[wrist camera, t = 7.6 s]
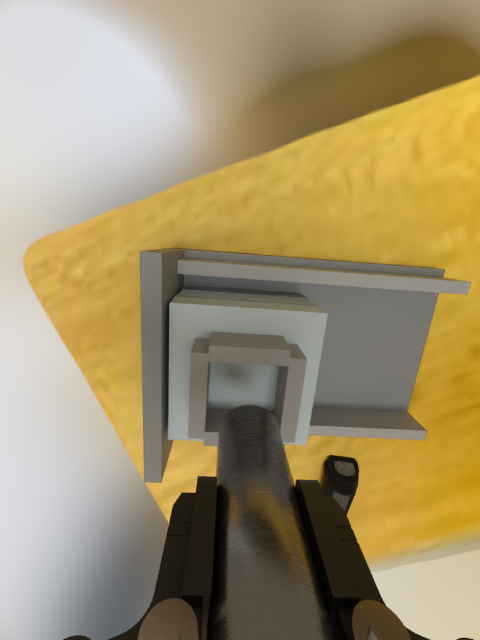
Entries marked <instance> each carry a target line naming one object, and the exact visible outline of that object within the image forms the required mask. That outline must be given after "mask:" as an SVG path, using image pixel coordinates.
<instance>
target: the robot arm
mask: <svg viewBox="0 0 480 640" xmlns="http://www.w3.org/2000/svg"><path fill="white" fill-rule="evenodd" d="M217 478H218V477H206V476H198V480H197V487H196V493H181V495H180V496H179V498H178V499H177V501H176V502H175V504H174V505H173V508H172V513H171V517H170V523H169V527H168V531H167V537H166V541H165V545H164V551H163V555H162V559H161V564H160V569H159V573H158V578H157V583H156V587H155V593H154V596H153V600H152V602H151V604H150V606H149V608H148V610H147V611H146V613H145V614H144V616H143V617H142V618H141V619H140V621H139V622H138V623H137V624H136V625H134V626H133V627H132V628H131V629H129V630H128V631H126V632H125V633H123V634H121V635H118V636H116V637H114V638H111V639H109V640H206V634H207V623H208V619H209V617H210V610H211V595H212V576H213V556H214V537H215V517H216V498H217ZM295 490H296V493H297V497H298V501H299V505H300V508H301V512H302V516H303V520H304V523H305V527H306V531H307V535H308V538H309V542H310V546H311V550H312V554H313V557H314V561H315V565H316V569H317V572H318V576H319V580H320V584H321V587H322V591H323V595H324V599H325V602H326V606H327V610H328V614H329V617H330V621H331V625H332V629H333V633H334V636H335V640H430V639H427V638H425V637H422V636H420V635H418V634H415V633H414V632H412V631H411V630H409V629H408V628H406V627H405V626H404V625H403V623H402V622H401V620H400V619H399V618H398V617H397V616H396V614H395V613H393V612H392V611H391V610H390V609H389V608H388V607H387V606H386V605H385V603H384V601H383V599H382V597H381V595H380V593H379V591H378V589H377V586H376V584H375V581H374V579H373V577H372V574H371V572H370V570H369V567H368V565H367V562H366V560H365V558H364V555H363V553H362V551H361V548H360V546H359V544H358V543H357V539H356V537H355V534H354V532H353V530H352V529H351V525H350V523H349V520H348V518H347V516H346V513H345V511H344V509H343V508H342V507H341V506H340V505H339V504H338V502H337V501H336V500H335V499H334V498H333V497H324V495H323V492H322V490H321V487H320V484H319V482H318V481H317V480H297V481H296V484H295ZM63 640H91V639H89V638H87V637H86V636H81V635H78V636H71V637H68V638H66V639H63ZM457 640H473V639H469V638H459V639H457Z"/></svg>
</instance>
